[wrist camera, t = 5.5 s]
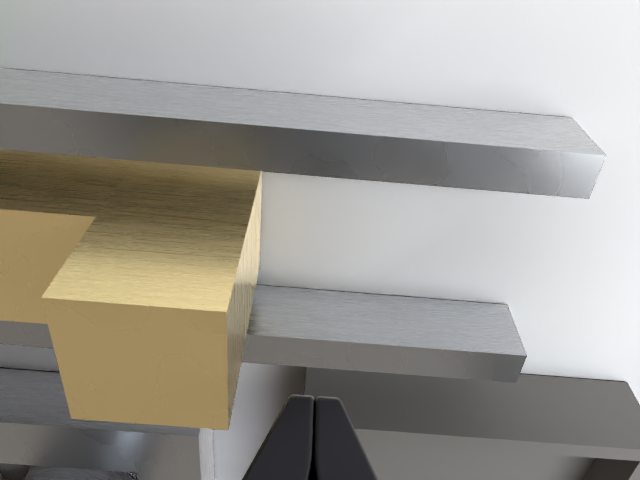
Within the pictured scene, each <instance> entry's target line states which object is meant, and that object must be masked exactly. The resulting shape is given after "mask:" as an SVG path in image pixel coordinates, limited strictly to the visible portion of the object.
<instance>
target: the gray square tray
mask: <svg viewBox="0 0 640 480" xmlns="http://www.w3.org/2000/svg"><path fill="white" fill-rule="evenodd" d="M304 395H311V396H313V397H314V399H316V397H318V396H326V397H337V398H339V399H340V400H341V401H342V403H343V405H344V408H345V410H346V412H347V414H348V416H349V418H350V420H351V423H352V425H353V427H354V429H355V431H356V433H357V436H358V438H359V440H360V442H361V444H362V446H363V448H364V451H365V453H366V455H367V457H368V459H369V461H370V464H371V466H372V468H373V470H374V472H375V474H376V477H377V479H378V480H640V405H639V403H638V401H637V399H636V398H635V396H634V394H633V392H632V390H631V389H630V387H629V385H628V383H627V382H619V381H605V380H592V379H579V378H566V377H553V376H540V375H527V374H519V377H518V379H517V382H516V383H512V382H499V381H485V380H472V379H459V378H446V377H432V376H419V375H406V374H393V373H380V372H366V371H353V370H340V369H327V368H314V367H307V368H306V378H305V389H304Z"/></svg>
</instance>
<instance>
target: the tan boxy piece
mask: <svg viewBox="0 0 640 480" xmlns="http://www.w3.org/2000/svg"><path fill="white" fill-rule="evenodd" d="M261 197H262V171H252V170H240V169H228V168H216V167H204V166H192V165H180V164H168V163H156V162H144V161H133V160H121V159H109V158H97V157H85V156H73V155H61V154H49V153H37V152H25V151H13V150H1V149H0V320H3V321H16V322H29V323H42V324H48V327H49V331H50V335H51V339H52V343H53V347H54V351H55V355H56V359H57V363H58V367H59V371H60V375H61V379H62V383H63V387H64V391H65V395H66V399H67V404H68V408H69V412H70V416H71V419H82V420H96V421H109V422H123V423H137V424H151V425H164V426H178V427H192V428H206V429H219V430H229V424H230V419H231V414H232V409H233V403H234V398H235V393H236V388H237V382H238V377H239V372H240V367H241V361H242V356H243V351H244V346H245V340H246V335H247V330H248V325H249V320H250V314H251V309H252V304H253V299H254V293H255V288H256V283H257V278H258V272H259V267H260V234H261Z"/></svg>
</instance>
